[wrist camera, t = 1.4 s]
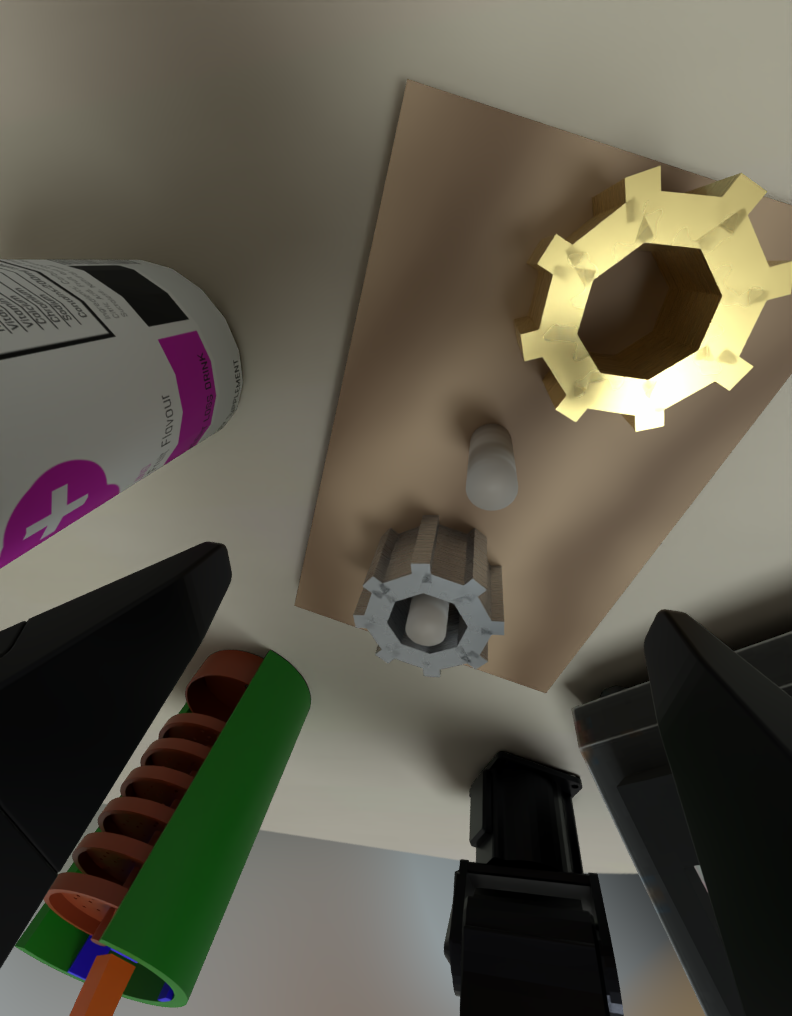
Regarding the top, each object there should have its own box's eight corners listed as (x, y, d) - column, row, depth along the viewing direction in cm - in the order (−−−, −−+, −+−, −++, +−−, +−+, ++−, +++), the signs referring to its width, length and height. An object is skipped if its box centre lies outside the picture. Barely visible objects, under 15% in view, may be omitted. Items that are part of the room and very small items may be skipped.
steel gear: (520, 543, 21) (527, 597, 18) (471, 632, 25) (469, 691, 21) (393, 499, 21) (375, 545, 18) (362, 594, 25) (342, 647, 21)
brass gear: (757, 202, 14) (847, 183, 10) (668, 406, 17) (714, 443, 14) (544, 181, 14) (562, 156, 11) (499, 381, 18) (502, 410, 14)
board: (857, 241, 15) (1053, 230, 10) (542, 671, 27) (555, 766, 22) (414, 95, 15) (376, 9, 10) (304, 588, 27) (261, 663, 22)
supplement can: (281, 397, 21) (-27, 599, 9) (166, 455, 24) (-188, 671, 12) (177, 222, 18) (-536, 135, 6) (61, 314, 21) (-575, 394, 9)
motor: (232, 624, 31) (-91, 1087, 13) (335, 690, 32) (162, 1180, 15) (183, 687, 36) (-99, 1083, 18) (274, 741, 37) (92, 1152, 20)
